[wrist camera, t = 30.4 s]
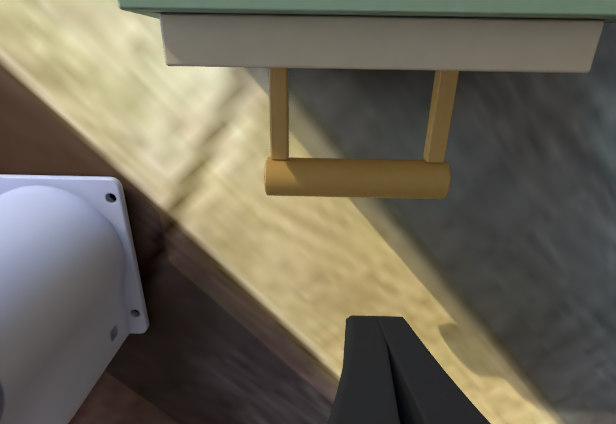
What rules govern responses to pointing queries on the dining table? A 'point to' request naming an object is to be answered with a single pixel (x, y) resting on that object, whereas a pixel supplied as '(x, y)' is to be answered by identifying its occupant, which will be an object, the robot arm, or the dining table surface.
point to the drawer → (374, 55)
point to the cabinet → (386, 8)
